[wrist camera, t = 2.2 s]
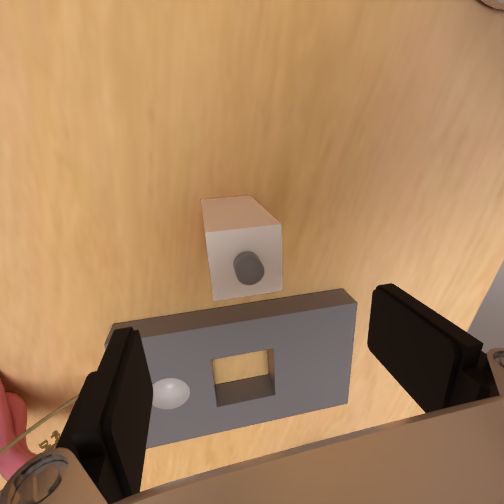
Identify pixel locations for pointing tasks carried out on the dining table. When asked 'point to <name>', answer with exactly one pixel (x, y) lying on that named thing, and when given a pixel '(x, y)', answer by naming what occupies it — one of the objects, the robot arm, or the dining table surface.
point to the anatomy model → (18, 432)
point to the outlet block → (240, 342)
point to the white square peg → (242, 247)
